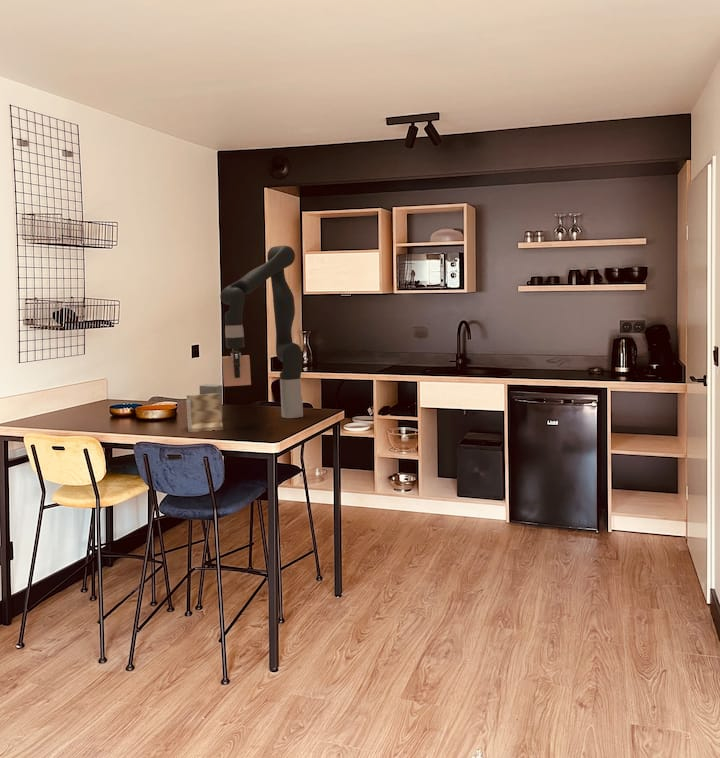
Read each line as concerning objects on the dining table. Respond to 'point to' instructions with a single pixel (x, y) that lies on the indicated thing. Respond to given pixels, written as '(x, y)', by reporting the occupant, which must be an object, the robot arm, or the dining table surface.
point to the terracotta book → (229, 371)
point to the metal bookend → (189, 413)
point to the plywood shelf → (206, 412)
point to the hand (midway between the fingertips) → (237, 376)
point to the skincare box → (211, 390)
